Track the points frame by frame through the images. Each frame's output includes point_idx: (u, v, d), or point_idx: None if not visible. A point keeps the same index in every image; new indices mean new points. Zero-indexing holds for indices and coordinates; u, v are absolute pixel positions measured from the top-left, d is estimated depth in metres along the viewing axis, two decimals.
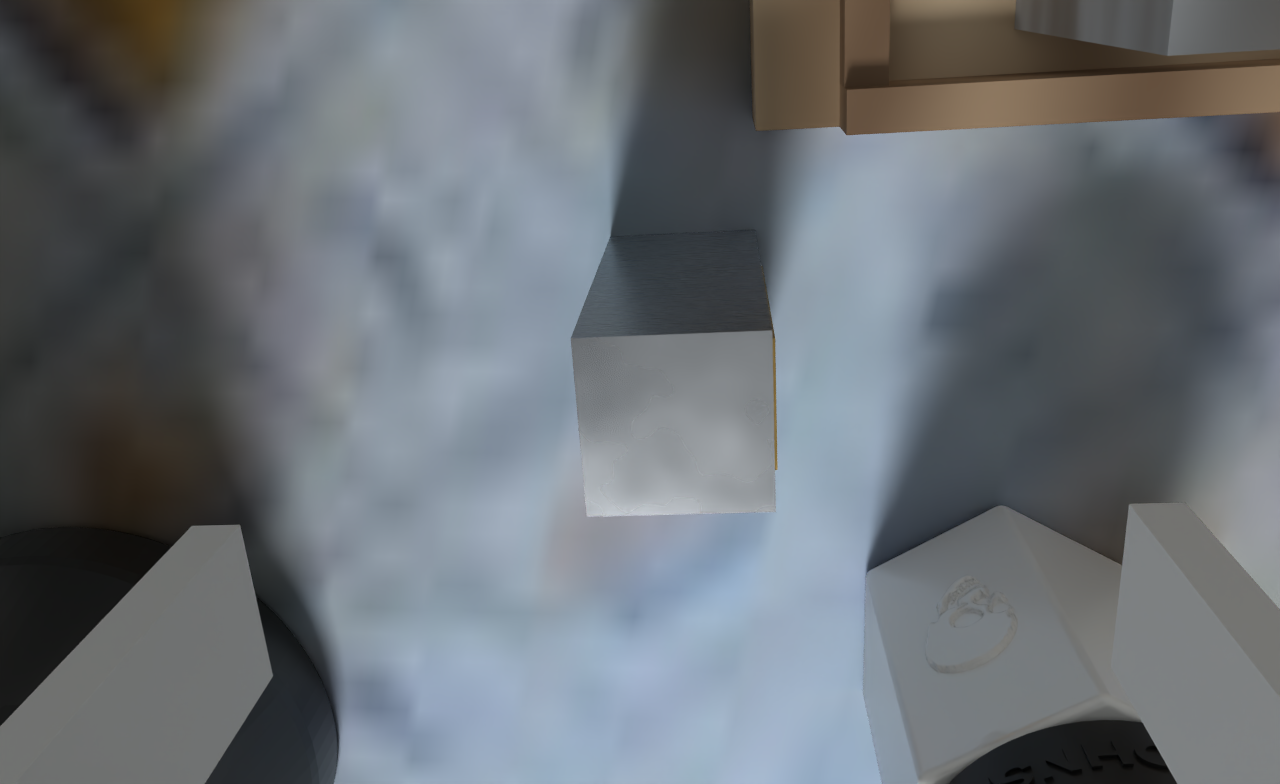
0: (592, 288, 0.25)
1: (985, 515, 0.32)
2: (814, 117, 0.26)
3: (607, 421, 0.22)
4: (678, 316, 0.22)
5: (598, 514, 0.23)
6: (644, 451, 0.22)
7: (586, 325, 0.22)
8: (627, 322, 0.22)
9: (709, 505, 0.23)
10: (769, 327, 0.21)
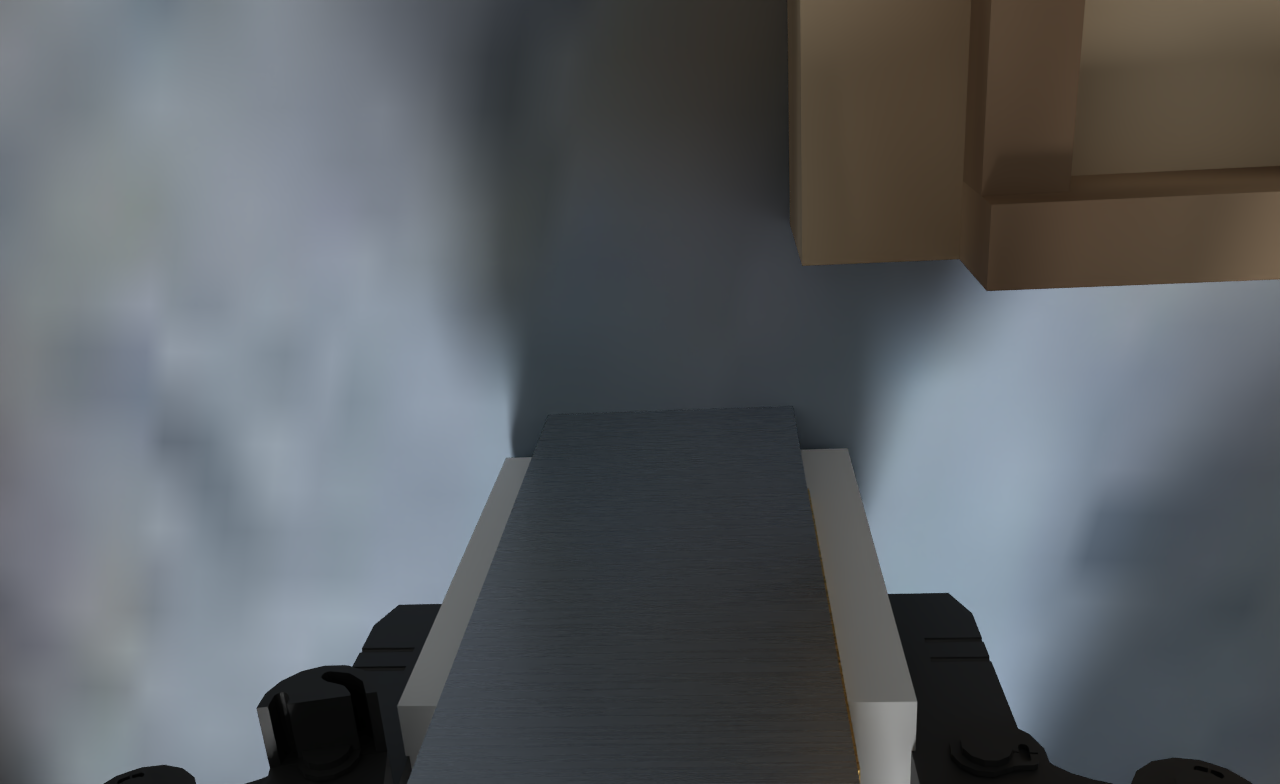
0: (487, 583, 0.13)
1: None
2: (912, 242, 0.14)
3: None
4: (649, 717, 0.10)
5: None
6: None
7: (446, 742, 0.10)
8: (536, 738, 0.10)
9: None
10: None
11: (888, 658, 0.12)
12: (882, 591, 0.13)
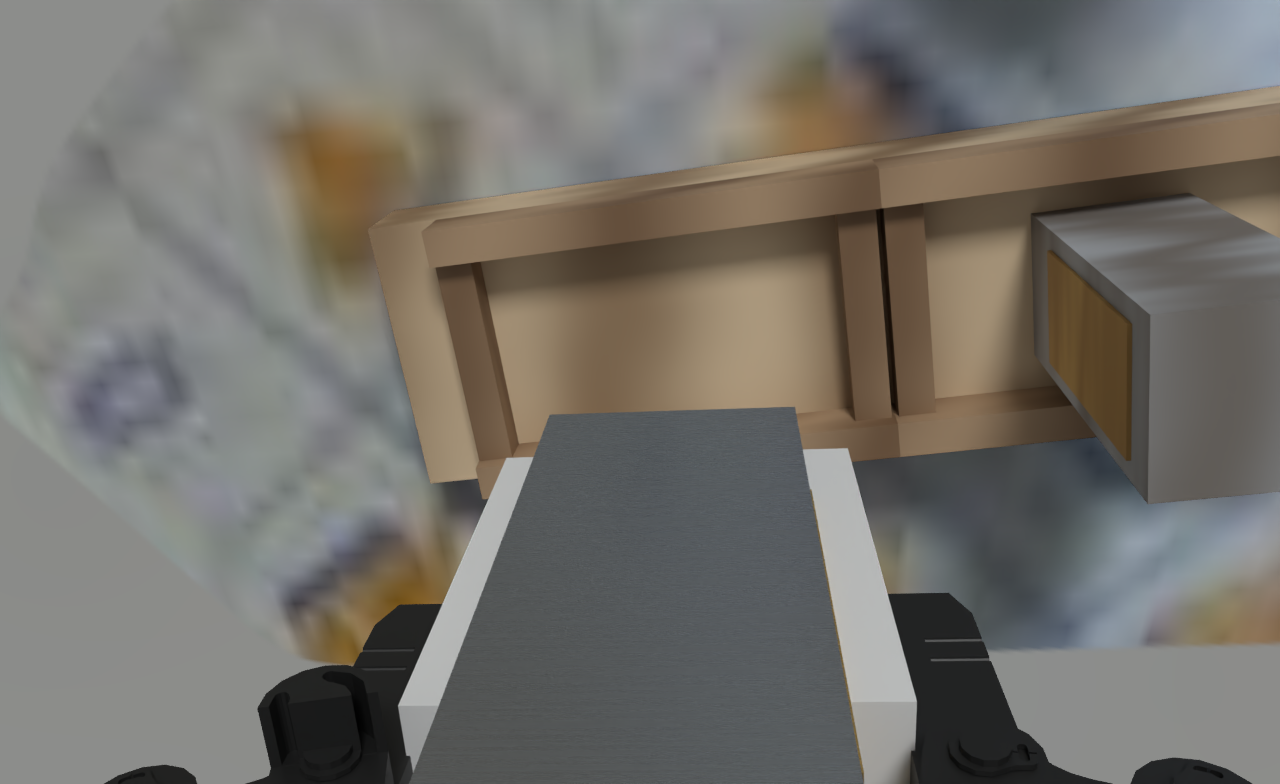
0: (489, 585, 0.13)
1: None
2: None
3: None
4: (652, 719, 0.10)
5: None
6: None
7: (447, 744, 0.10)
8: (538, 740, 0.10)
9: None
10: None
11: (888, 658, 0.12)
12: (882, 591, 0.13)
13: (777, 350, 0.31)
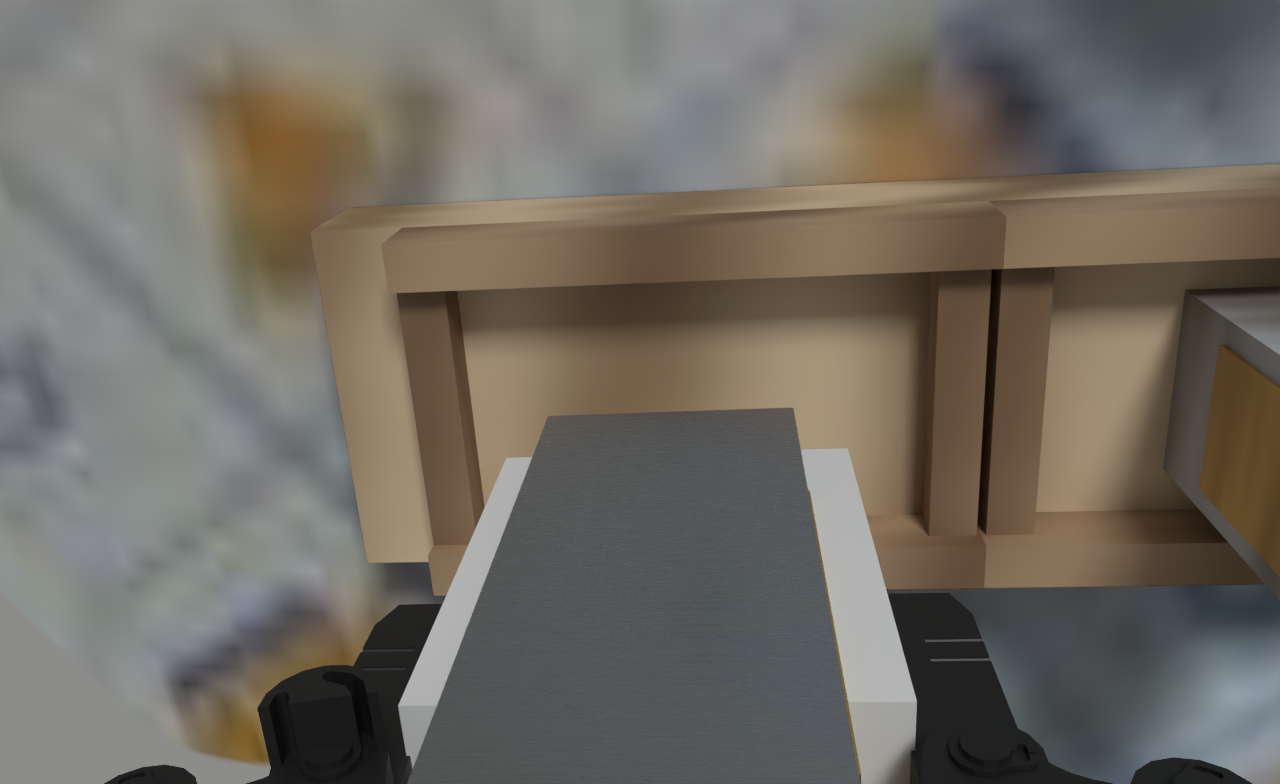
0: (487, 586, 0.13)
1: None
2: None
3: None
4: (648, 721, 0.10)
5: None
6: None
7: (444, 746, 0.10)
8: (535, 742, 0.10)
9: None
10: None
11: (888, 658, 0.12)
12: (882, 591, 0.13)
13: (834, 434, 0.24)
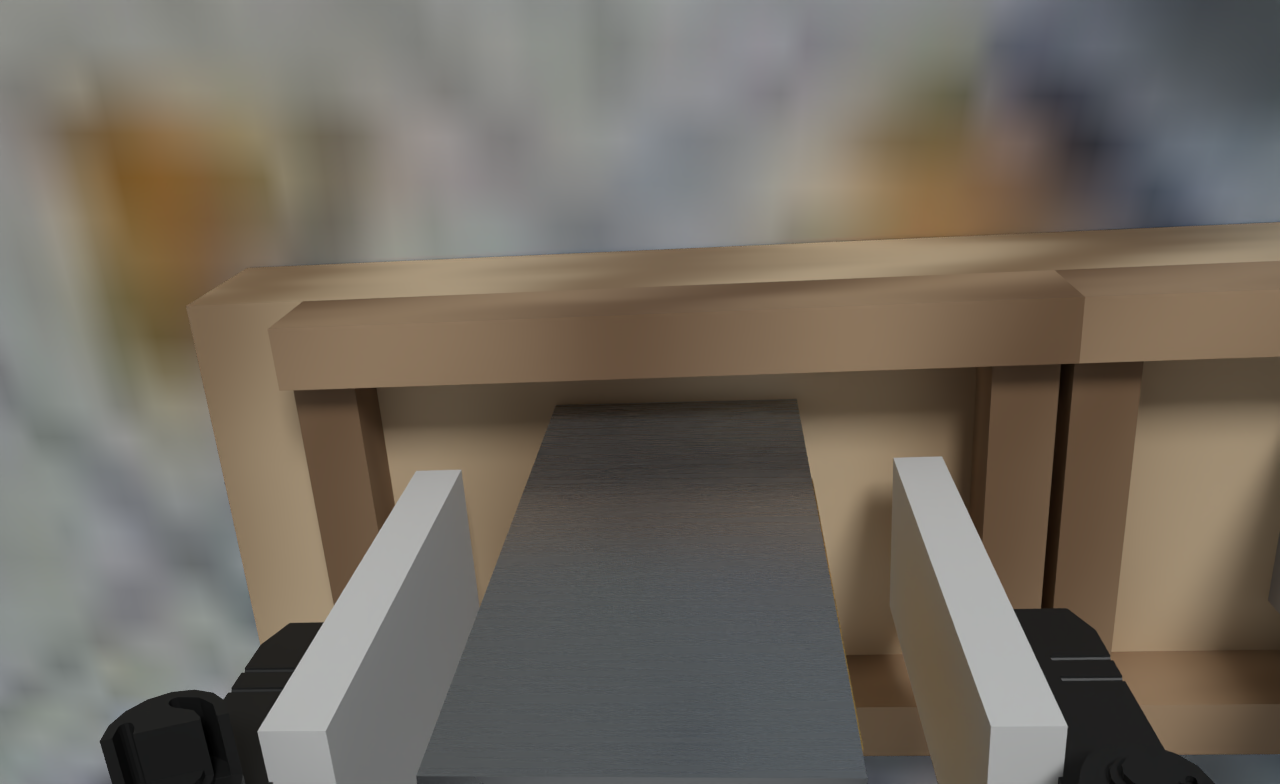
0: (499, 567, 0.13)
1: None
2: None
3: None
4: (659, 695, 0.11)
5: None
6: None
7: (461, 717, 0.10)
8: (548, 714, 0.10)
9: None
10: (859, 763, 0.10)
11: (1028, 679, 0.12)
12: (1008, 607, 0.13)
13: (853, 557, 0.19)
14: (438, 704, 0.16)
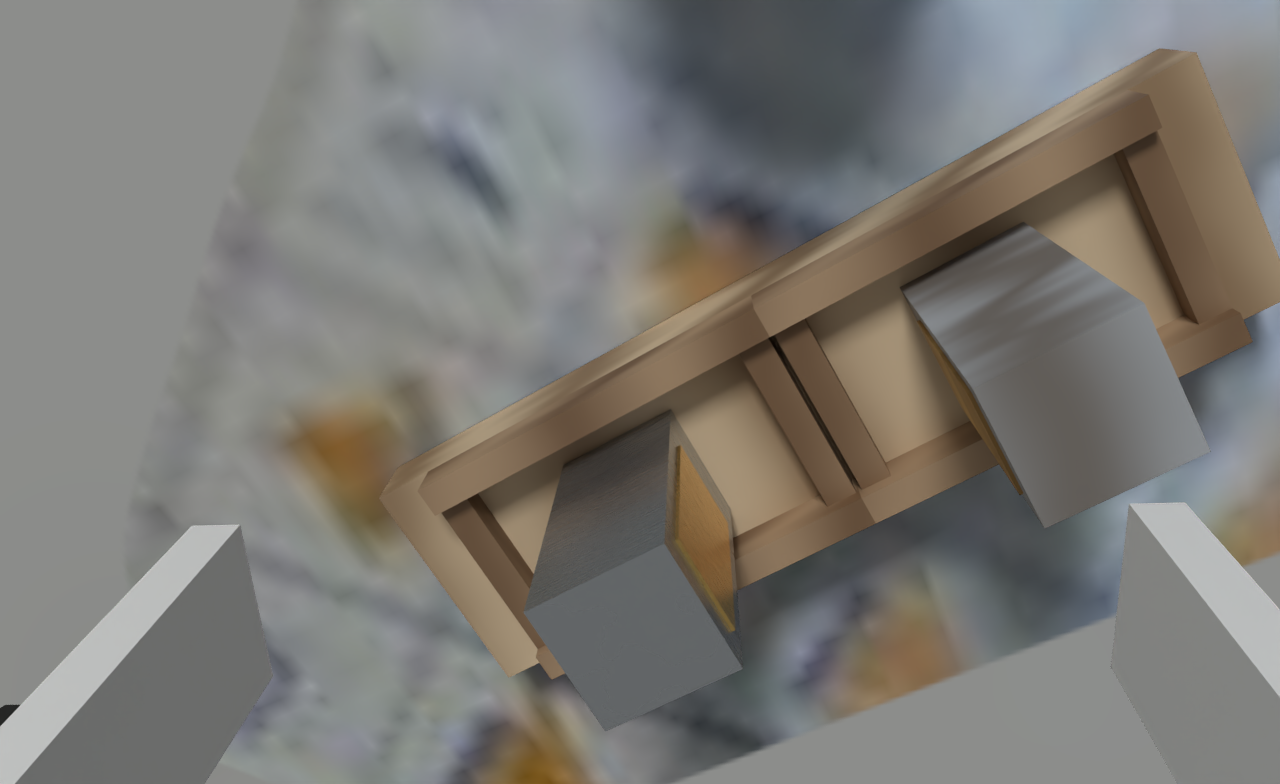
0: (544, 541, 0.30)
1: None
2: (1151, 86, 0.30)
3: (582, 658, 0.27)
4: (600, 553, 0.27)
5: (613, 726, 0.28)
6: (620, 667, 0.27)
7: (535, 591, 0.27)
8: (564, 576, 0.27)
9: (691, 685, 0.27)
10: (662, 540, 0.26)
11: None
12: None
13: (742, 470, 0.35)
14: None
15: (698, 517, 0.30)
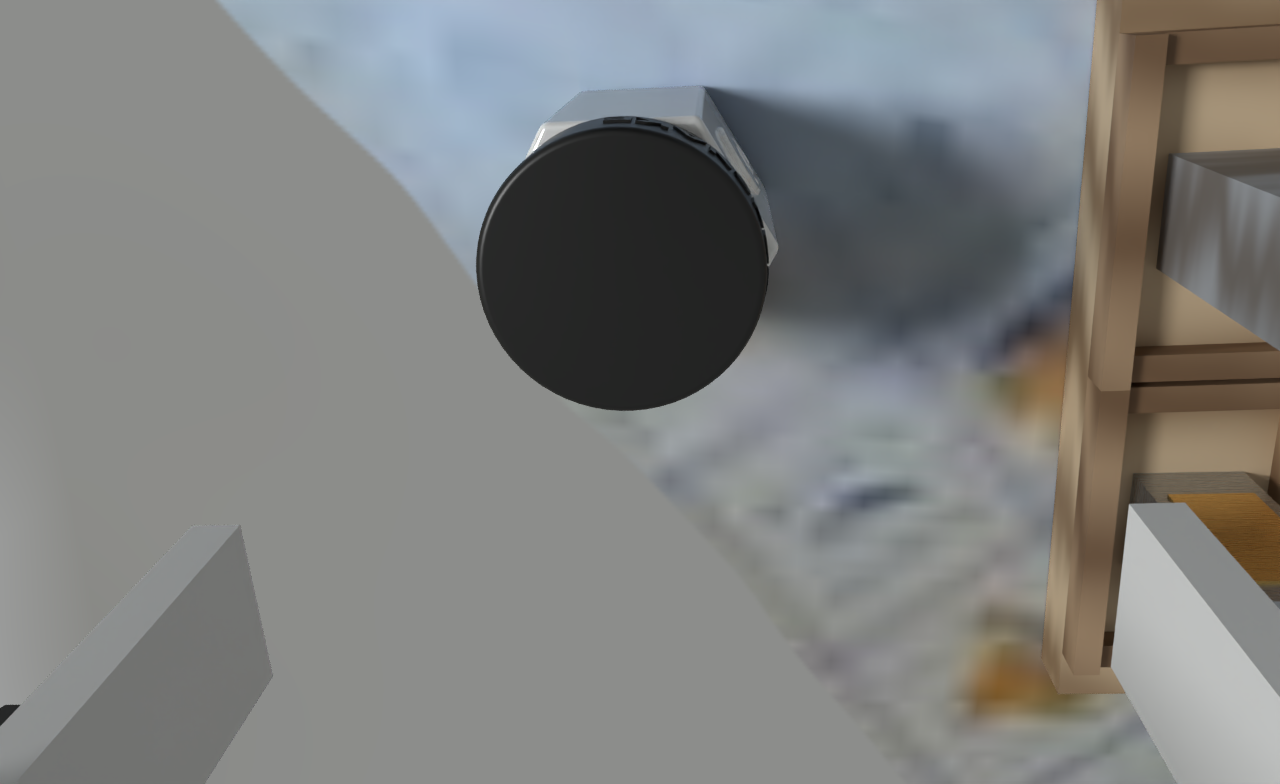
0: None
1: None
2: (1129, 13, 0.35)
3: None
4: None
5: None
6: None
7: None
8: None
9: None
10: None
11: None
12: None
13: (1218, 448, 0.40)
14: None
15: (1235, 533, 0.36)
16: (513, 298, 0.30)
